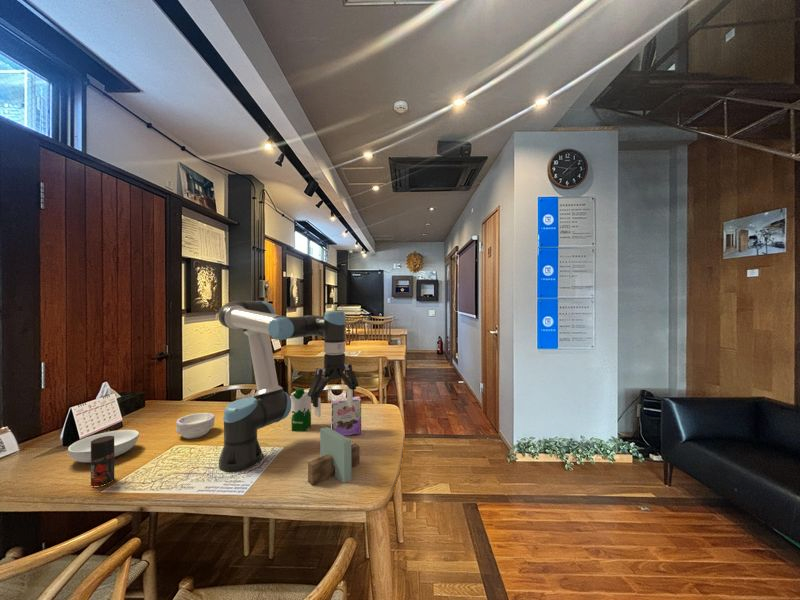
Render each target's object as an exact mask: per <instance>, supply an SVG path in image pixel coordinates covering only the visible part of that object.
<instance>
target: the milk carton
mask: <svg viewBox="0 0 800 600" xmlns="http://www.w3.org/2000/svg"><path fill="white" fill-rule="evenodd" d="M308 392H309V389H305V388H303V387H297V388H296V389H295V391H293V392H291V394H290V399H291V410H290V413H291V415H290V416H291V417H290V418H291V431H292V432H307V430H308V429H309V428H310V427H311V426H312V397H309V396H308V395H307V394H308Z"/></svg>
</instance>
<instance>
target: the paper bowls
mask: <svg viewBox="0 0 800 600" xmlns="http://www.w3.org/2000/svg"><path fill="white" fill-rule="evenodd" d="M175 422H176V423H175V425H176V426H175V431H176V433H177V434H178V435H181V437H182V438H185V439H188V440H189V439H197V438H200V437H203V436H205V435H208V433H209V432H210V430H211V429H212V428H213V427H215V415H214V414H213V413H210V412H198V413H191V414H188V415H185V416H182V417H180V418H178V419H177V420H176V421H175Z"/></svg>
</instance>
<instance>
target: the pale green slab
mask: <svg viewBox="0 0 800 600" xmlns="http://www.w3.org/2000/svg"><path fill="white" fill-rule="evenodd" d="M319 430H320V434H319V437H320V438H319V440H320V441H319V444H320V445H319V446H320V447H319V449H320V450H319V451H320V452H319V453H320V455H319V457H322V456H324V455H327V454H328V455H330V456H331V457H332V465H333V466H335V476H334V477H335V478H337V479H338V480H339V481H340V482H342V483H343V484H345V483H347V482H350V481H352V468H351V445H352V439H351V438H349V437H348V436H343V435H341V434H339V433H338V432H336V431H334V430H332V429H331V427H328V426H325V427H322V428H320V429H319Z"/></svg>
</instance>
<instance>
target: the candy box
mask: <svg viewBox="0 0 800 600" xmlns="http://www.w3.org/2000/svg"><path fill="white" fill-rule="evenodd" d="M330 402H331V403H330V404H331V405H330V408H331V409H330V411H331V413H330V415H331V416H330V417H331V419H330V421H331V422H330V423H331V424H330V425H331V426H330V429H332V430H334V431H336V432H338V433H339V434H341V435H343V436H345V437H348V436H349V437H350V436H356V435H357V436H358V435H362V399H361V396H354V397H353V407H349V406H347V397H342V398H341V397H340V398H339V397H338V398H331V401H330Z"/></svg>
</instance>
